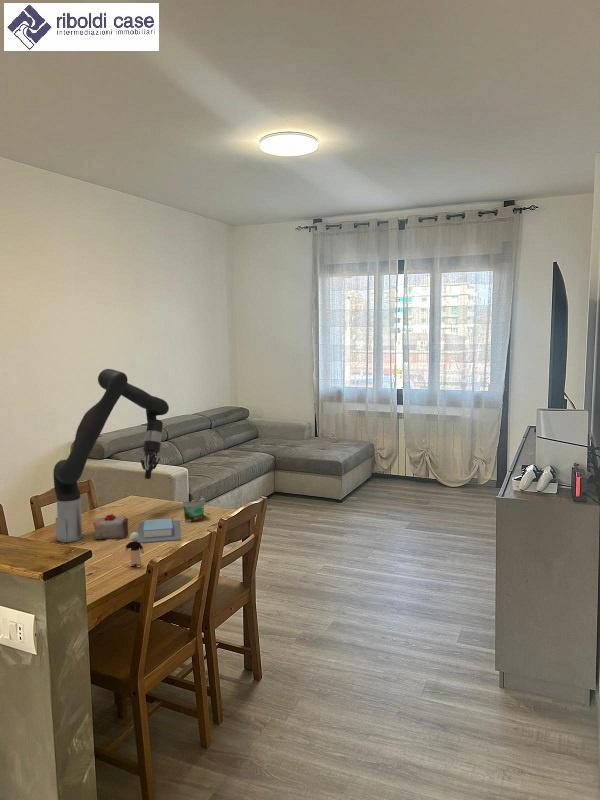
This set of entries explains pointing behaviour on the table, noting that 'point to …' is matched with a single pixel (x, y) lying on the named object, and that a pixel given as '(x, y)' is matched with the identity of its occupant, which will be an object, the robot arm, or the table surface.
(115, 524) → the food item
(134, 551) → the grandmother figurine
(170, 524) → the book
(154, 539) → the mat
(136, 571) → the table surface
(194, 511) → the food container
